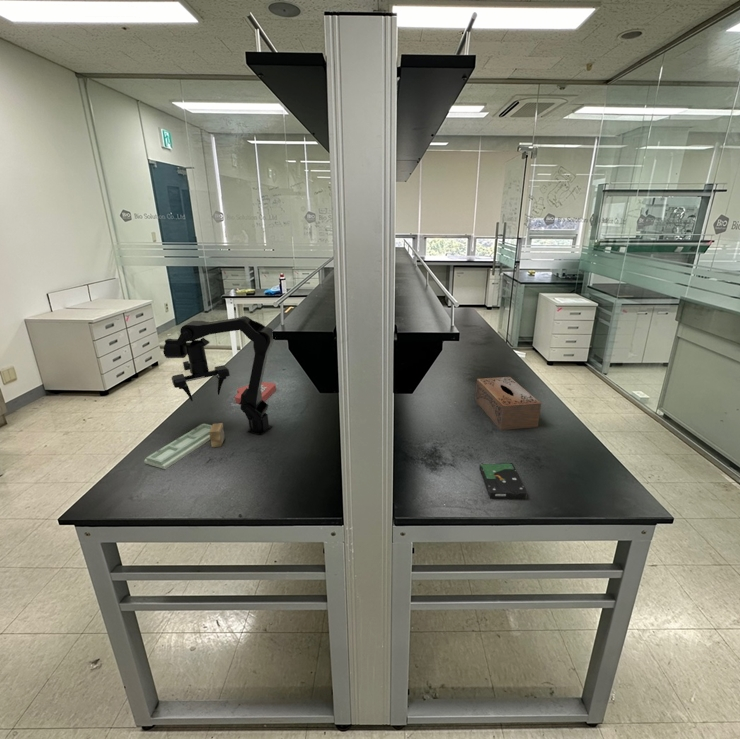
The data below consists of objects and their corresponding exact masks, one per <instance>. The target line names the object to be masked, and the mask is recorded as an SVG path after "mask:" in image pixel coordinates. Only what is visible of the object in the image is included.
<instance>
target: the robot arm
mask: <svg viewBox="0 0 740 739" xmlns="http://www.w3.org/2000/svg"><path fill="white" fill-rule="evenodd" d="M235 331H241V332H242V333H243V334H244V335H245V336H246V337H247V339H248V340H250V341H252V343H253V347H252V348H253V351H254V357H253V362H252V367H251V372H250V378H249V382H248V385H249V387H248V388H246V389H245V391H244V392H243V393H242V394H241V402H240V403H239V404H238V405H240V410H241V411H242V412H243V413H244V415H245V416H246V419H247V420H248V425H249V429H247V432H248V433H252V434H255V435H256V434H257V435H263V434H265V433H266V432H267V431H269V430H270V429H271V428H273V426H272V425H270V423H269V415H268V414H267V411H268V409H269V404H268V403H267V402H266V401H265V402H264V401H263V400H262V393H261V384H262V382H263V379H264V374H265V373H264V372H265V368H266V364H267V358H268V354H269V352H270V350H271V348H272V346H273V345H274V341H275V339H273V336H272V331H274V330H273V329H272V328H271V327H269V326H265V325H264V324H262V323H260V322H257V321H255V320H253V319H252V318H250V317H249V316H246V315H243V316H240V317H234V318H229V319H228V318H227V319H221V320H215V321H214V320H213V321H205V320H191V321H189V322H187V323H186V324H184V325H182V326H181V327H180V330H179V332H180V335H179V336H178V337H177V338H167V339H165V340H164V347H163V355H164V357H165V358H166V359H184V358H186V356H187V358H188V360H186V361H183V362H182V365H183V369H184V371H189V372H190V374H189V375H184V374H183V373H179V374H175V375H172V376H171V383H172V386H173V387H174V388H176V389H177V388H178V389H179V390H183V391H184V392H185V394H186V395H187V397H188V398H189V400H190V401H191V402H193V401H194V400H193V397H192V393H191V391H190V388H189V386H188V383H187V382H190V381H191V382H192V381H195V380H196V381H197V380H200V379H204V378H210V377H215V386H216V389H215V390H216V394H217V396H219V395H220V392H221V388H222V385H223V383H224V380H226V379H227V377H230V371H229V368H228V367H227V366H226V365H224V364H223V365H222V364H221V365H218V366H214V370H209V365H208V361H207V355H206V350H205V347H206V346H207V345H209V344H210V343H211V342H210V341H209V340H208V339H206V338H205V337H206V336H209V335H213V334H215V335H216V334H221V333H228V332H235Z"/></svg>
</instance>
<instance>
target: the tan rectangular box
mask: <svg viewBox="0 0 740 739" xmlns="http://www.w3.org/2000/svg"><path fill="white" fill-rule="evenodd" d="M224 430H225V429H224V423H223V422H220V423H218V422H215V423H212V427H211V429H210V431H209V434H210V440H209V441H210V444H211V448H218V447H222V446H223V443H224V441H225V439H226V437H225V436H226V435H225V431H224Z"/></svg>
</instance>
